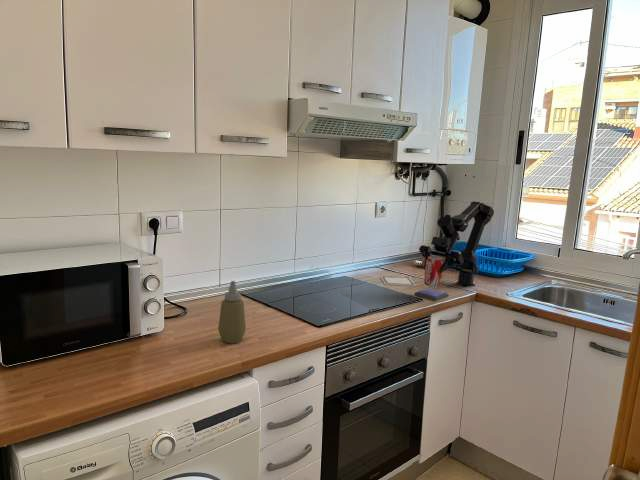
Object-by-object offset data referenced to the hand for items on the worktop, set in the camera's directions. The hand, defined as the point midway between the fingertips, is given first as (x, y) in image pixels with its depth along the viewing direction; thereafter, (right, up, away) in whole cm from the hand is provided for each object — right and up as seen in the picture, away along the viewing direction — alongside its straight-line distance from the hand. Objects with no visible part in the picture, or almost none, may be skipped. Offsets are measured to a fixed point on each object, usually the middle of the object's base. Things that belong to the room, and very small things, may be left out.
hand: (432, 270), depth 194 cm
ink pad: (0, -11, +3) cm, 11 cm away
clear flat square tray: (-10, -7, +24) cm, 27 cm away
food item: (+14, -2, +57) cm, 59 cm away
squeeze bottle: (-73, -17, -55) cm, 93 cm away
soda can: (+1, -7, +2) cm, 7 cm away
